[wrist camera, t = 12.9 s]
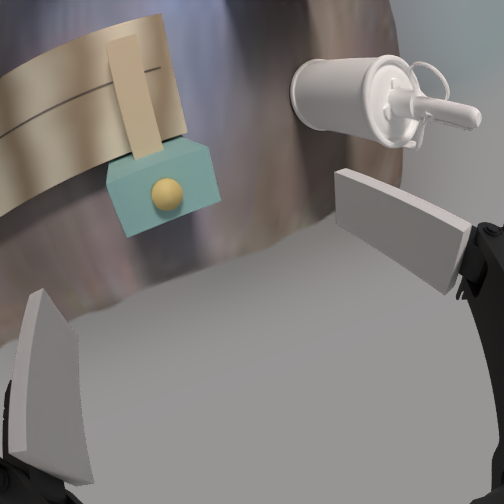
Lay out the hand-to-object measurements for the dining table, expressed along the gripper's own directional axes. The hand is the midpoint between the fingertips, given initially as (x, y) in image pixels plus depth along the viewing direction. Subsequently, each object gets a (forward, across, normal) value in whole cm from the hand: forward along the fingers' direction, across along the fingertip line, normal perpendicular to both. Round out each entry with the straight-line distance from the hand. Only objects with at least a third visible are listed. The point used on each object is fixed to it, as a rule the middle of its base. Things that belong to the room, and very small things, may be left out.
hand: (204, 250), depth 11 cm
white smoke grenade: (+19, +22, +2) cm, 29 cm away
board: (+19, -12, +8) cm, 24 cm away
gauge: (+19, 0, +5) cm, 19 cm away
